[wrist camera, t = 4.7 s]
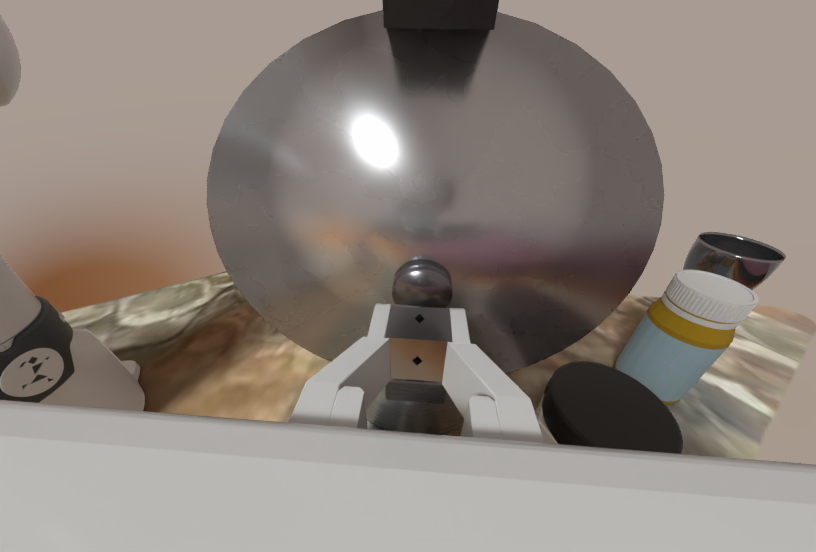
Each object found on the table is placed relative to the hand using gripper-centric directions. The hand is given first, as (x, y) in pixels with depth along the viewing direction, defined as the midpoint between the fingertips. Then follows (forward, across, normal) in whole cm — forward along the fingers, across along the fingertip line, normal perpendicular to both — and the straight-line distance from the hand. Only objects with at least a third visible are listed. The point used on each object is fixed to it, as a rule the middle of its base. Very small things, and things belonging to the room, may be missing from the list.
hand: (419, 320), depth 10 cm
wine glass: (+28, -40, +24) cm, 54 cm away
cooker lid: (+6, 0, 0) cm, 6 cm away
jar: (+6, -14, +24) cm, 28 cm away
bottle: (+18, -29, +24) cm, 42 cm away
